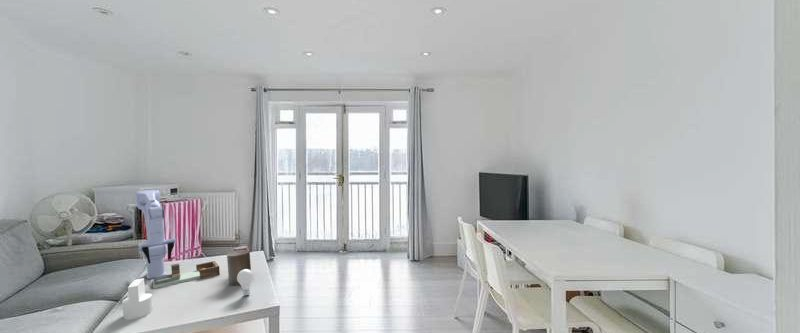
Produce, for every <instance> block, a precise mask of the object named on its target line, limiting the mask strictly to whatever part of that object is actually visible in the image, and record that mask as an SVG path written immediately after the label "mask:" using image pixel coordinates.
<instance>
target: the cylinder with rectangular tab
mask: <svg viewBox="0 0 800 333" xmlns="http://www.w3.org/2000/svg"><path fill="white" fill-rule="evenodd" d="M145 285H146V284H145V278H137V279H134V280H133V281H132V282H131V283H130V284H129V286H128V287H127V293H128V295H127V296H128V297H126V298H125V299H123V300H122V302H121V303H122V315H123V319H124V320H136V319H139V318H140V319H141V318H143V317H146V316H148V315H150V314H151V313H153V312H154V304H153V294H152V293H146V289H145V288H146V287H145Z"/></svg>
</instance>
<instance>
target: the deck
mask: <svg viewBox="0 0 800 333" xmlns="http://www.w3.org/2000/svg"><path fill="white" fill-rule="evenodd" d="M170 278H172V277H170ZM170 278H165V279H170ZM165 279H161V280H165ZM197 279H198V280H199V279H200V272H199V270H198V271H197V270H194V271H188V272H183V273H180V278H179V280H175V281H171V282H166V283H162V284H157V285H155V283H154V279H152V285H153V289H158V288H163V287H166V286H173V285H176V284H179V283H184V282H189V281H193V280H197ZM161 280H157V281H161Z"/></svg>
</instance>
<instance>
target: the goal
mask: <svg viewBox="0 0 800 333" xmlns="http://www.w3.org/2000/svg"><path fill="white" fill-rule="evenodd" d="M195 266H196V270H195V271H198V270H199V272H200V278H199V279H206V278H209V277H215V276H219V275H220V265H218V263H217V262H216V261H215V260H213V261H208V262H203V263H198V264H195ZM203 268H206V269H203ZM201 269H202V270H201ZM214 275H215V276H214Z"/></svg>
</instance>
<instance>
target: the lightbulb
mask: <svg viewBox="0 0 800 333" xmlns="http://www.w3.org/2000/svg"><path fill="white" fill-rule="evenodd" d="M254 276H255V275H254V273H253V270H252V269H251V270H249V269H243V270H241V271H240V272H239V273H238V275H237V281H238V282H239V284H240V285H239V286H240V287H241V289H242V295H243V296H244V297H245V296H246V297H247V296H249V295H250V294H251V289H250V288H251V284H252V282H253V281H254Z"/></svg>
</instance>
